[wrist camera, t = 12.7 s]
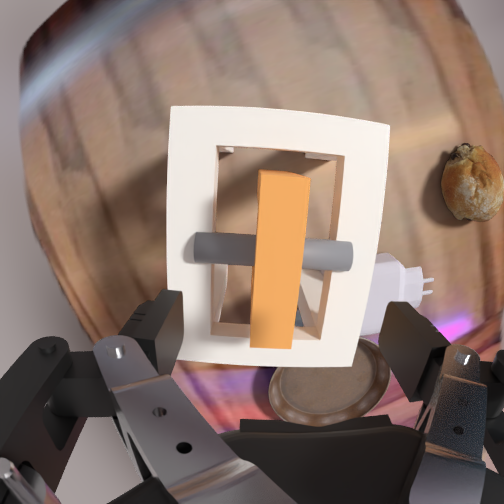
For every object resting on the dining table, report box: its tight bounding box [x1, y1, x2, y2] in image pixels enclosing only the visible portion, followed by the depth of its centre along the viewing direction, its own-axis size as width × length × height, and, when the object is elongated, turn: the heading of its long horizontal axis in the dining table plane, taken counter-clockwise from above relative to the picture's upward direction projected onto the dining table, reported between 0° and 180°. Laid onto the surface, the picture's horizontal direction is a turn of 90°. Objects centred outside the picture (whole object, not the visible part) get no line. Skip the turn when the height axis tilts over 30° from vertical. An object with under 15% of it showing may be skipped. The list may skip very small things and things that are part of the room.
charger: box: [320, 253, 434, 336], centre depth 36 cm, size 5×9×15 cm
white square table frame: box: [167, 106, 390, 367], centre depth 27 cm, size 18×14×17 cm
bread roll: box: [441, 143, 504, 222], centre depth 32 cm, size 10×10×8 cm
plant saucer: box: [268, 337, 391, 427], centre depth 41 cm, size 18×18×3 cm
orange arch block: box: [250, 169, 311, 349], centre depth 22 cm, size 10×2×10 cm, turn 177°
